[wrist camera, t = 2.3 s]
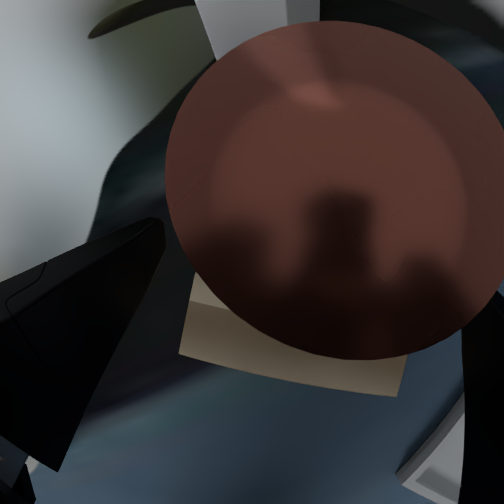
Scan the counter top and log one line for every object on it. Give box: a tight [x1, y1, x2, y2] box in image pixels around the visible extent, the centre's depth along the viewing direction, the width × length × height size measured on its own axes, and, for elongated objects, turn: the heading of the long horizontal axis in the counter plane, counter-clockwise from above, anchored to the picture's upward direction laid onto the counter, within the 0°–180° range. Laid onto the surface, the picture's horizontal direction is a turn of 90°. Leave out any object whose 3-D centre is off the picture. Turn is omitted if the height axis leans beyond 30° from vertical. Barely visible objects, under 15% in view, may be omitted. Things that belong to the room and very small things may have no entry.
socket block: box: [179, 273, 408, 397], centre depth 16 cm, size 11×11×2 cm
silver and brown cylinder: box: [165, 21, 504, 360], centre depth 10 cm, size 5×5×14 cm
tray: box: [396, 392, 465, 504], centre depth 13 cm, size 11×11×2 cm
